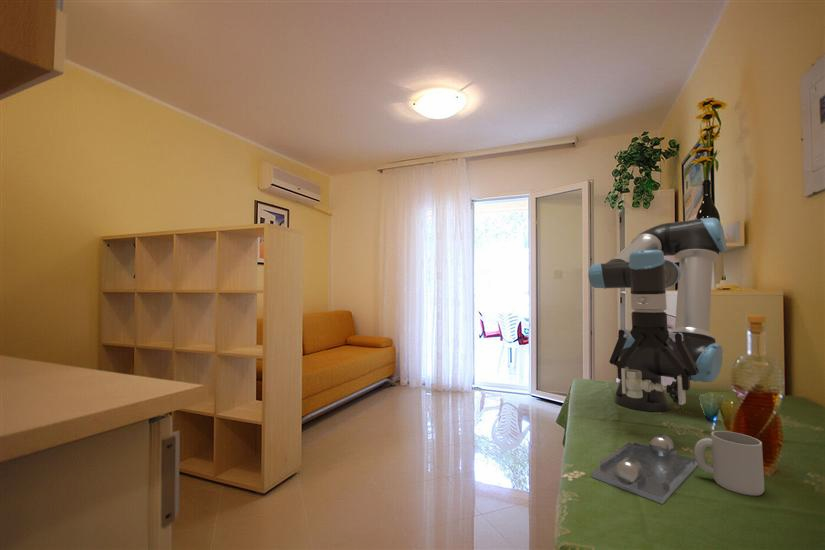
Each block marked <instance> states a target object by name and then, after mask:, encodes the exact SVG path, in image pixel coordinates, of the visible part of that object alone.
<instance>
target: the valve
mask: <svg viewBox="0 0 825 550" xmlns="http://www.w3.org/2000/svg"><path fill="white" fill-rule="evenodd" d="M641 378H642V372H641V371H639V370H633V369H628V370H626V379H625V386H626V388H627V393H626V395H627V396H628V397H631V398H642V397H643V391H642V390H645V391H646V392H651V390H654V389H655V390H656V391H660V392H663V390H664V391H666V393H667V394H668V395H669V397H670V398H671V399H672V402H673V403H674V404H676V405H679V406H680V405H681V404H679V399H678V380H677V377H676V376H675V377H674V378H673V379H674V380H675V381H674V380H672V382H671V383H670V384H667V385H666V386H664V385H663V384H658V383H656V385H655V384H653V383H651V380H645V381H644V380H642V379H641Z"/></svg>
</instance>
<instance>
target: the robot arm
mask: <svg viewBox="0 0 825 550" xmlns="http://www.w3.org/2000/svg"><path fill="white" fill-rule="evenodd" d="M726 251H727V240H726V237H725V232H724V229H723V226H722V223H721V221H720V220H719V219H718V218H716V217H707V218H706V217H705V218H702V217H701V218H698V219H689V220H682V221H674V222H666V223H661V224H658V225H655V226H653V227H651V228H648V229H646V230H644V231H641V232H640V233H639V234H637V235H636V236H635V237H634V238H633V239H632V241H631V242H630V244H629V245H628V246H626V247H625V248H624V249H623V250H622V251H620V252H619V253H618V254H616V255H615V256H613V257H612V258H611V259H609V260H608V261H607V262H606V263H601V262H599V263H595V264H592V265H590V267H589V269H588V281H589V282H588V283H589V284H590V285H591V287H593V288H595V289H604V290H605V289H627V288H628V289H629V288H630V305H631V306H630V308H631V310H633V311H632V312H631V327H632V328H631V330H630V329H626V328H622V329H619V330H618V339H617V341H616V344H615V346H614V349H613V351H612V354H611V357H610V358H609V364H611V365H614V366H616V368H617V378H618V380H619V382H618V386H617V388H616V390H615V393H614V394H615V395H614V401H615V403H616V404H617V405H619V406H622V407H625V408H629V409H633V410H637V411H638V410H639V411H646V412H665V411H668V410H669V409H670V402H669V398H668V396H667V394H666V392H665V390H663V392H660V391H656V390H655V389H654V390H651V392H646V391H645V390H642V391H643V397H642V398H631V397H628V396H627V395H626V393H627V388H626V386H625V379H626V370H628V369H633V370H639V371H641V372H642V378H641V379H642V380H644V381H645V380H651V383H653V384H655V385H656V383H658V384H662V377H666V378H671V379H674V377H675V376H676V377H677V380H678V399H679V404H681V405H685V404H686V403H687V401H686V400H687V399H686V391H689V390H690V388H691V381H692V382H695V383H697V382H701V383H712V382H714V381H716V380H717V379H718V377H719V375H720V372H721V369H722V364H723V359H724V358H723V348H722V345H720V344H719V343H716V337H715V336H713V334H711V333H710V324H711V323H710V322H711V307H712V306H711V302H712V285H713V284H712V280H713V263H715V262H716V261H718V260H719V257H720V253H725V252H726ZM665 256H667V257H669V256H674V259H675V260H676V261H678V262H679V265H678V264H677V263H675V262H673V261H670V260H668V259H665ZM676 284H677V294H676V295H677V296H676V306H675V307H676V310H675V323H674V329H673V330H671V331H669V330H668V314H667V313H666V312H665V311H666V310H667V294H666V288H667V289H668V288H669V287H673V286H675V285H676ZM662 385H663V384H662ZM679 404H678V405H679Z"/></svg>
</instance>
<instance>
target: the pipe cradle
mask: <svg viewBox="0 0 825 550" xmlns="http://www.w3.org/2000/svg"><path fill="white" fill-rule="evenodd" d="M674 447H675V446H674V442H673V440H672V438H670V436H668V435H666V434H662V433H660V434H657V435H656V436H654V437H653V438H652V439H650V440H649V442H648V445H645V444H641V443H637V442H633V443H631V442H627V443H625V444H623V445H622V446H621V447H620V448H617V449H616V450H614V451H613V452H612V453H610V454H609V455H607V456H605V457H603V458H602V459H601V460H599V466H598V467H596V468H595V469H593V470H592V471H591V475H590V476H591V478H593V479H595V480H598V481H601V482H603V483H606V484H608V485H611V486H613V487H616V488H619V489H622V490H623V491H627V492H629V493H632V494H634V495H637V496H640V497H643V498H646V499H648V500H650V501H653V502H655V503H659V504H660V505H664V503H665V502H666V501H667V500H668V499H669V497H671V496H672V495H673V494H674V492H675V491H676V490H677V489H678V488H679V487H680V486H681V484H682V483H684V481H685V480H686V479H687V478H688V477H689V476H690V475H691V474H692V473H693V471H694V470H695V469H696V468H697V466H698V467H699V465H698V464H697V462H696V459H695V458H690V457H687V456H684V455H681V454H680V455H679V454H678V453H677V449H676V448H674Z"/></svg>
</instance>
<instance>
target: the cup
mask: <svg viewBox="0 0 825 550" xmlns="http://www.w3.org/2000/svg"><path fill="white" fill-rule="evenodd" d="M708 447H709V448H710V447H711V457H712V458H711V459H712V465H710V464H709V463H708V462H707V460H706V457H705V455H706V454H705V453H706V449H707V448H708ZM693 449H694V450H693V451H694V453H693V454H694V459H695V460H696V462H697V464H698V467H699V468H700V469H702V471H703V472H706V473H708V474H711V475H712V477H713V479H714V481H715V482H716V484H717V485H718V486H720V487H722V488H723V489H725V490H727V491H730V492H734V493H736V494H740V495H744V496H751V497H757V496H762V495H763V494H764V492H765V475H764V474H765V473H764V472H765V471H764V458H763V456H764V454H763V442H762V441H761V440H759V439H758V438H756V437H752V436H751V435H746V434H743V433H740V432H739V433H738V432H733V431H726V430H715V431H712V432H711V438H709V437H705V438H701V439H699V440H698V441H697V442H696V443H695V445H694V448H693Z"/></svg>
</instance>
